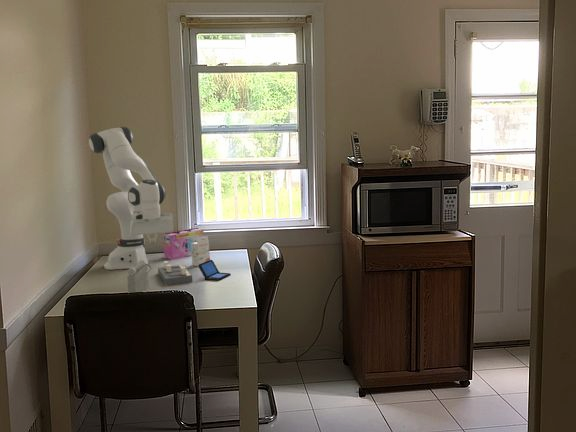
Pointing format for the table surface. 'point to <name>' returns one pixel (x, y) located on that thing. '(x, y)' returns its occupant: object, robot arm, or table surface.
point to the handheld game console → (211, 271)
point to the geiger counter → (138, 277)
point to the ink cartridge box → (200, 251)
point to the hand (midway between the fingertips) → (152, 242)
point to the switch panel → (174, 275)
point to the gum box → (180, 242)
